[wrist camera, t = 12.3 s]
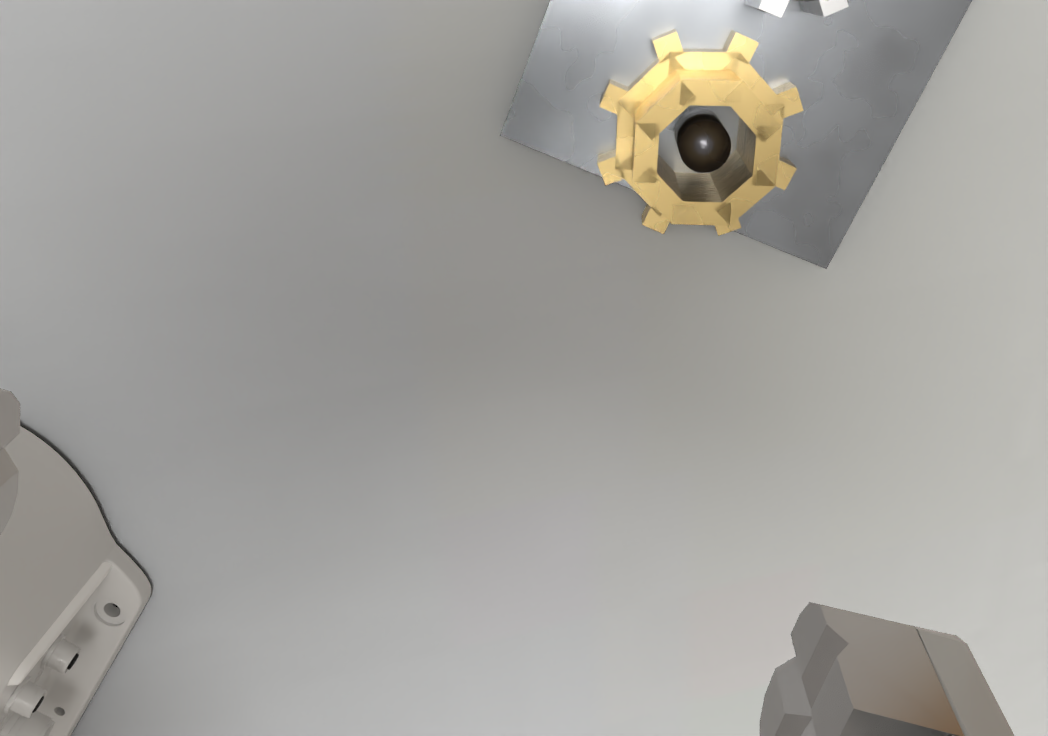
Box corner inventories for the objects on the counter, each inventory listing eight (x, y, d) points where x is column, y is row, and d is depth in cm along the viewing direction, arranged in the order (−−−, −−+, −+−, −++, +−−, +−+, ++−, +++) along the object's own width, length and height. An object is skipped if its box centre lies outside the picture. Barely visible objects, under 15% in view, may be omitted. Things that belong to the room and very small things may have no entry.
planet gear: (782, 228, 38) (804, 264, 34) (595, 222, 39) (592, 257, 34) (805, 30, 35) (832, 40, 31) (602, 27, 36) (600, 37, 31)
